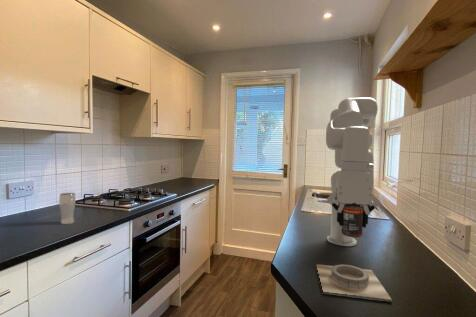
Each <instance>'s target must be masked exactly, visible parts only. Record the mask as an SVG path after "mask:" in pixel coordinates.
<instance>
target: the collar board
mask: <svg viewBox="0 0 476 317" xmlns="http://www.w3.org/2000/svg"><path fill="white" fill-rule="evenodd" d="M316 267H317V268H316V271H317V270H318V272H317V275H318V274H319V276H318V279H319V278H320V281H319V283H320V282H321V285H320V287H321V286H322V289H321V291H322V290H323V292H329V293H338V294H347V295H356V296H362V297H369V298H378V299H385V300H391V301H392V302H393V299H392V297H391V296H390V295H389V293H388V292H387V290H386V289H385V287H384V285H383V284H382V283H381V282H380V280H379V279H378V278H377V277H378V276H376V274H375V273H374V272H373V270H372V269H367V268H366V269H364V268H361V267H358V266H354V265H351V264H343V263H341V264H335V265H326V264H316Z"/></svg>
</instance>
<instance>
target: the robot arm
mask: <svg viewBox="0 0 476 317" xmlns="http://www.w3.org/2000/svg"><path fill="white" fill-rule="evenodd" d="M378 111H379V110H378V103H377V101H376V99H374V98H372V97H348V98H345V99H343V100H341V101H340V102H339V104H338V108H335V109H334V110H332V111H331V112H330V116H329V118H330V119H329V122H328V124H327V125H326V126H327V127H326V132H325V143H326V147H327V148H328V149H329V150H331V151H334V163H335V164H334V165H335V167H337V168H338V169H340V170H338V171H337V172H334V173H332V174H331V177H330V187H331V194H330V195H329V196H328V197H327V198H326V201H327V202H328V203H329V205H331V218H330V234H329V235H327V236H326V241H328V243H331V244H332V245H336V246H340V247H341V246H342V247H354V246H356V245H357V244H358V243H357V242H358V240H357V239H356V238H355V237H348V236H345V235H343V234H342V226H343V213H342V210H343V207H344V205H345V204H352V203H356V204H357V205H360V206H361V207H362V208H363V226H362V228H365V229H366V228H367V225H368V224H369V215H370V213H372V212H373V211H374V210H375V209H376V208H377V207H379V206H380V205H381V202H380V201H379V199H378V198H377V197H376V196H375V195H374V194H373V191H374V186H375V184H374V181H375V177H374V176H375V170H374V169H375V168H374V166H375V165H374V164H375V160H374V153H373V151H372V150H371V149H370V148H371V146H372V145H373V134H372V132H371V131H370V129H369V128H368V127H370V126H371V125H372V124H373V122H374V120H376V117H377V115H378Z"/></svg>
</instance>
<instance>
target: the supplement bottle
mask: <svg viewBox="0 0 476 317" xmlns="http://www.w3.org/2000/svg"><path fill="white" fill-rule="evenodd" d="M342 213H343V226H342V234H343V235H345V236H348V237H353V238H360V237H362V235H363V227H362V226H363V208H362V207H361V205H357V204H356V203H352V204H345V205H344V207H343V210H342Z"/></svg>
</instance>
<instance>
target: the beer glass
mask: <svg viewBox="0 0 476 317" xmlns="http://www.w3.org/2000/svg"><path fill="white" fill-rule="evenodd" d="M58 204H59V211H60V215H61V218H60V222H59V223H60V224H61V225H70V224H74V223H75V218H74V217H75V216H74V214H75V213H74V212H75V210H76V209H75V208H76V193H75V192H64V193H63V192H62V193H59V203H58Z"/></svg>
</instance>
